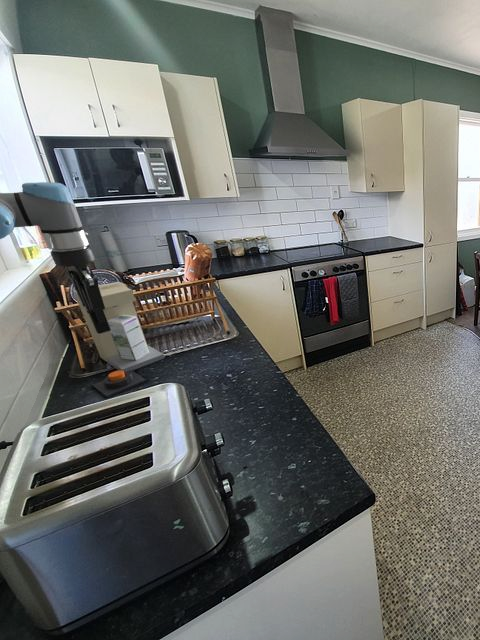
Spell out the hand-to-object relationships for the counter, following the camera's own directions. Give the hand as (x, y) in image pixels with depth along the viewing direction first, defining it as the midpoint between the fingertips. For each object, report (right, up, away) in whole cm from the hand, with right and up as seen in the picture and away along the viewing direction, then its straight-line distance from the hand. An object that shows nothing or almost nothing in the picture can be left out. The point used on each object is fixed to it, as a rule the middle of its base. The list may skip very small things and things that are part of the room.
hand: (103, 331), depth 97 cm
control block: (-4, -17, +10) cm, 20 cm away
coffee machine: (-12, -10, +24) cm, 29 cm away
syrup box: (-9, -9, +22) cm, 26 cm away
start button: (-4, -15, +9) cm, 18 cm away
